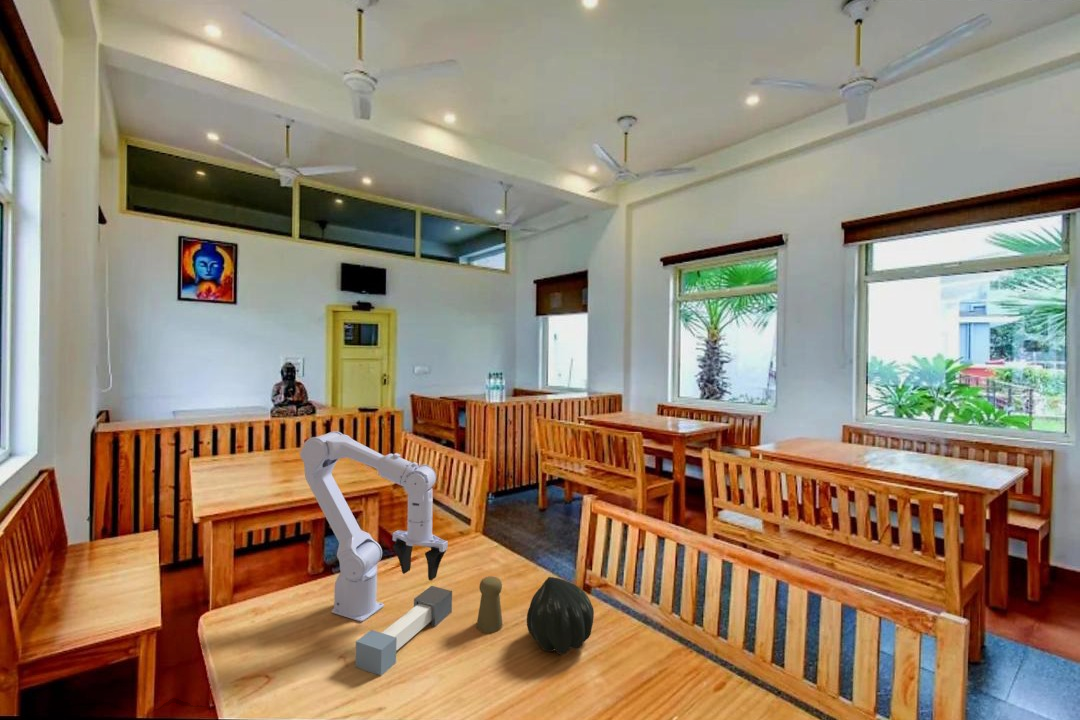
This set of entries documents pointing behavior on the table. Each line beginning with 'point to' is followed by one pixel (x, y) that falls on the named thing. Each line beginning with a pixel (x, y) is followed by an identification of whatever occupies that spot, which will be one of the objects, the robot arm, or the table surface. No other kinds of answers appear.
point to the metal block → (436, 603)
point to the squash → (560, 616)
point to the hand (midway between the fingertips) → (419, 575)
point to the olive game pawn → (490, 605)
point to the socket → (376, 652)
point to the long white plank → (410, 624)
